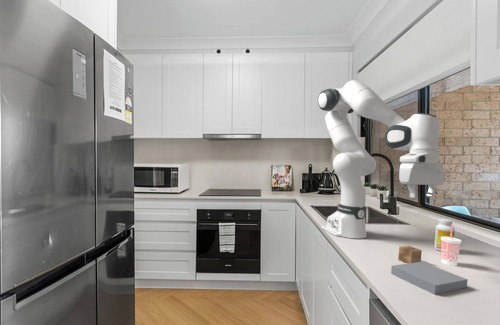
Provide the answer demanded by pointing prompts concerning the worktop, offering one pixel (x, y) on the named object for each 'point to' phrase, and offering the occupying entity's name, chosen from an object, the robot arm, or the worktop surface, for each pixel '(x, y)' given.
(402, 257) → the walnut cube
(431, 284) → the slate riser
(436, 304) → the worktop surface
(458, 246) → the beverage cup
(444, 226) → the supplement bottle
